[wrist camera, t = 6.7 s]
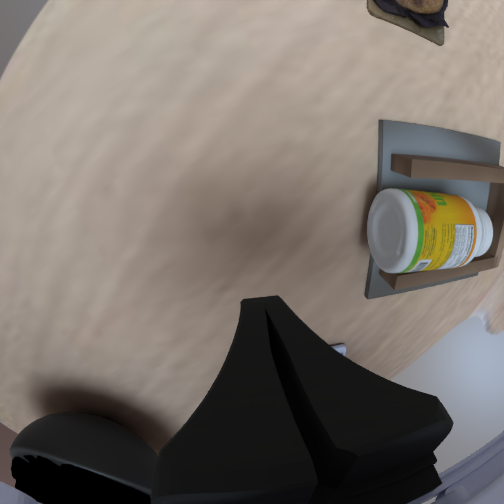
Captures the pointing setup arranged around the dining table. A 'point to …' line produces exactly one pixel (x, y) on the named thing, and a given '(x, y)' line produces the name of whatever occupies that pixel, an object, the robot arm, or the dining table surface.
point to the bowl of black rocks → (82, 461)
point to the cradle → (439, 191)
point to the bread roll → (413, 16)
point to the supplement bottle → (425, 231)
